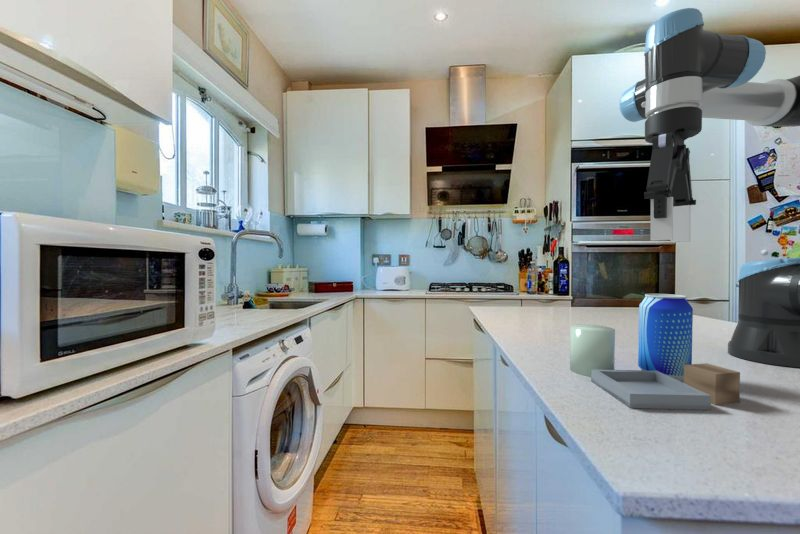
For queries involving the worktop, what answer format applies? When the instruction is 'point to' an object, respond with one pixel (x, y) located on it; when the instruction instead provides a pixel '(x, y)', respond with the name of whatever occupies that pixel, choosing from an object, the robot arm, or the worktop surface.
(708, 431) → the worktop surface
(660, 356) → the beer can
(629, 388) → the slate tray
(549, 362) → the worktop surface
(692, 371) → the walnut block
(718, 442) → the worktop surface
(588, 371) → the pale green cylinder
